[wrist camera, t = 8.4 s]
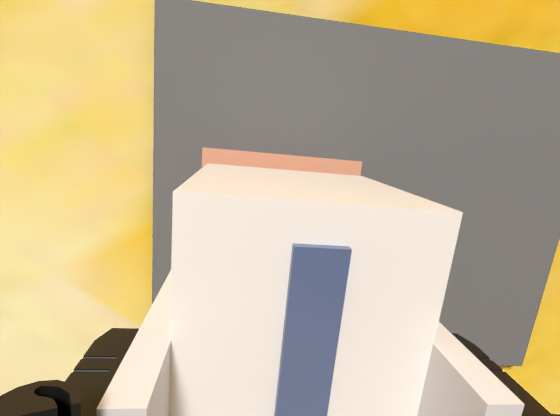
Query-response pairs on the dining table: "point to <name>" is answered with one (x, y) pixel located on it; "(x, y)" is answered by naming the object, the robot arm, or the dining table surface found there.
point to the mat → (375, 137)
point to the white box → (303, 293)
